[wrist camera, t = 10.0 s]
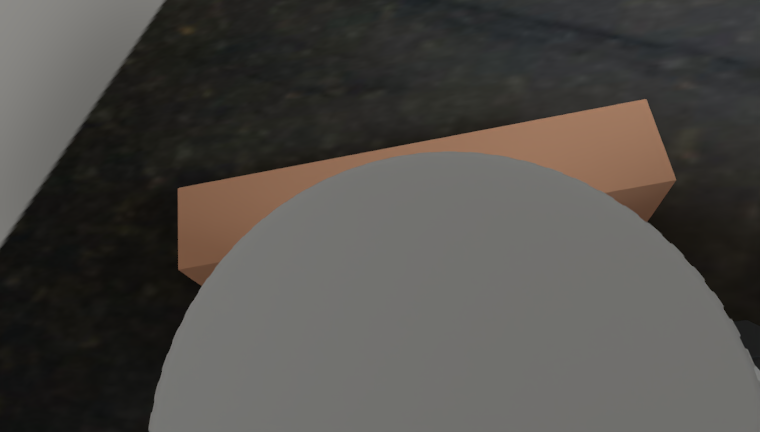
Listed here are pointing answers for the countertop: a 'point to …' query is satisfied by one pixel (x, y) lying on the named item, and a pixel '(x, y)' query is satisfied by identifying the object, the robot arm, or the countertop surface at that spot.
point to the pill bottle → (455, 314)
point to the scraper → (518, 141)
